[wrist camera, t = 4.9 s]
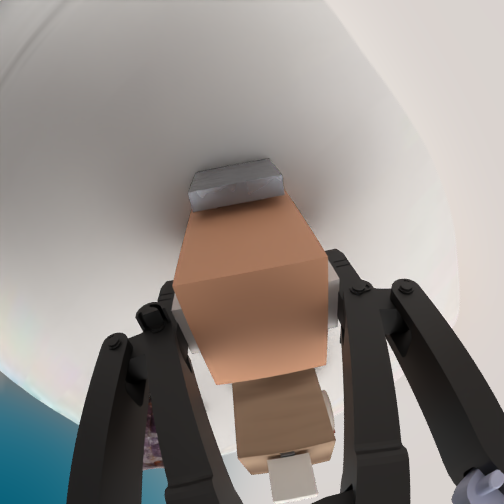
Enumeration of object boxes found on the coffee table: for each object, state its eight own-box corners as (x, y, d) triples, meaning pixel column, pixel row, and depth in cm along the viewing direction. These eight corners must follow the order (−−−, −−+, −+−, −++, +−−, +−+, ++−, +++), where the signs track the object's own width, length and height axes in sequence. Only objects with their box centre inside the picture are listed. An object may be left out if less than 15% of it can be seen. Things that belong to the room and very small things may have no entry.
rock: (209, 404, 31) (150, 367, 26) (221, 463, 24) (152, 437, 19) (146, 432, 32) (89, 401, 27) (149, 483, 24) (83, 459, 19)
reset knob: (267, 460, 16) (273, 501, 13) (308, 452, 16) (317, 493, 13) (270, 466, 17) (275, 504, 14) (308, 459, 17) (316, 496, 14)
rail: (196, 172, 16) (188, 193, 13) (268, 158, 16) (282, 174, 13) (246, 361, 25) (250, 396, 21) (293, 352, 25) (302, 386, 21)
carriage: (195, 197, 17) (172, 285, 9) (279, 181, 17) (327, 256, 9) (216, 276, 20) (216, 384, 12) (289, 263, 20) (326, 364, 12)
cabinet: (230, 357, 24) (237, 460, 16) (314, 341, 24) (346, 439, 16) (242, 389, 27) (251, 476, 19) (314, 376, 27) (338, 459, 19)
